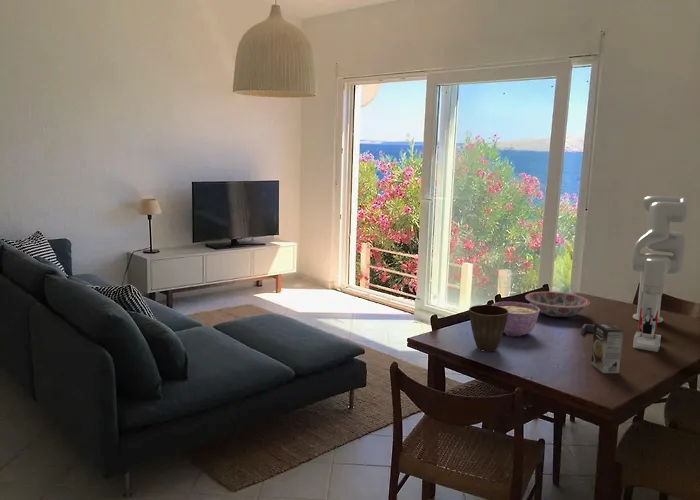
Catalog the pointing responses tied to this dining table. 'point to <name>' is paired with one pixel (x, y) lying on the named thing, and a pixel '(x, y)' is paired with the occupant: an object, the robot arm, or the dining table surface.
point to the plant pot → (487, 325)
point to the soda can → (643, 320)
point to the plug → (651, 333)
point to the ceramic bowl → (557, 303)
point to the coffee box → (607, 347)
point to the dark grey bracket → (587, 328)
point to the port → (646, 342)
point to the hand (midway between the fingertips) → (648, 330)
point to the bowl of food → (519, 317)
